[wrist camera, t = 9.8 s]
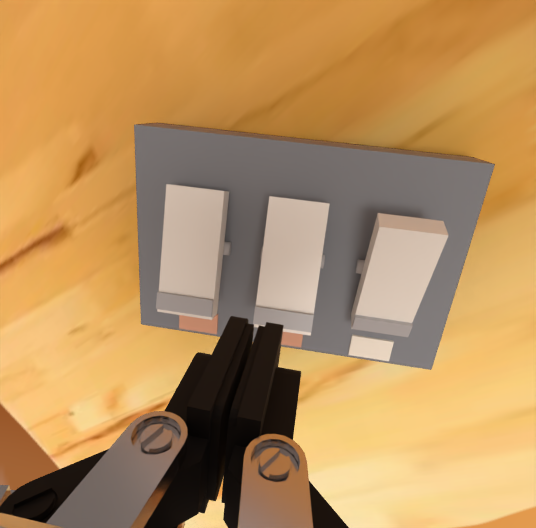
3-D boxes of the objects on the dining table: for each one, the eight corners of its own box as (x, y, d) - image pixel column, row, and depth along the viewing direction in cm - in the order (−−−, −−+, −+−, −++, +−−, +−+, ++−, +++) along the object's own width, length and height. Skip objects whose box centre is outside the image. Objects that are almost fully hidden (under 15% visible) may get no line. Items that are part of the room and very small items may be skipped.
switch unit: (157, 122, 31) (128, 125, 26) (472, 157, 28) (500, 166, 24) (159, 302, 37) (136, 329, 32) (419, 341, 34) (434, 377, 30)
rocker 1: (174, 184, 28) (164, 183, 26) (229, 191, 27) (223, 191, 26) (165, 305, 29) (155, 312, 27) (217, 313, 29) (210, 321, 27)
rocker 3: (377, 212, 24) (379, 229, 23) (443, 221, 24) (449, 238, 23) (351, 313, 30) (351, 331, 28) (403, 321, 30) (406, 340, 28)
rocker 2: (271, 197, 27) (269, 195, 26) (328, 204, 27) (329, 203, 25) (256, 320, 28) (252, 328, 27) (310, 329, 28) (310, 336, 26)
